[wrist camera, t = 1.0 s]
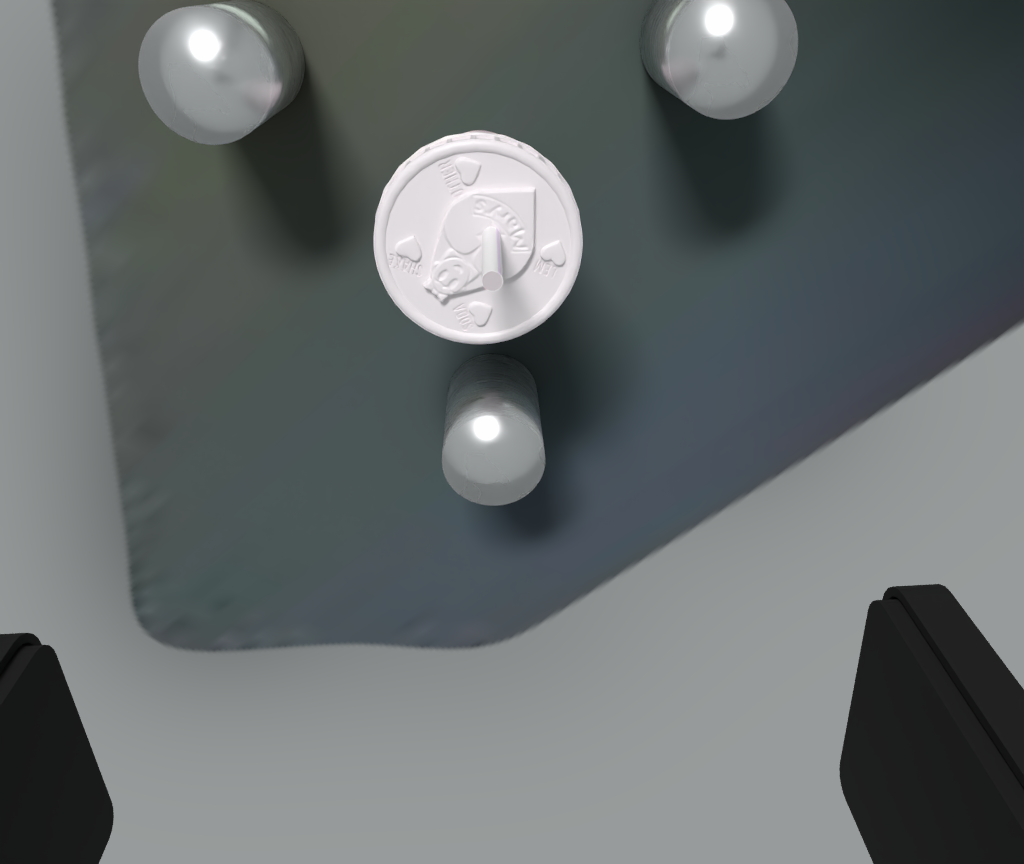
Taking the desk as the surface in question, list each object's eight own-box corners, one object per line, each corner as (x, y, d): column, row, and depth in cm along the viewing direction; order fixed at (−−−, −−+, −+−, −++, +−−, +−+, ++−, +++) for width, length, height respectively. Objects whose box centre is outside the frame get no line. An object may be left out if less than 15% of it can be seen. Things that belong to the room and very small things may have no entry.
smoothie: (593, 176, 35) (653, 292, 23) (482, 288, 37) (482, 451, 25) (476, 54, 33) (471, 109, 20) (365, 180, 35) (299, 300, 22)
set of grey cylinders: (184, 2, 32) (124, 9, 26) (751, -25, 32) (805, -24, 26) (271, 445, 40) (239, 518, 35) (717, 423, 40) (752, 492, 35)
